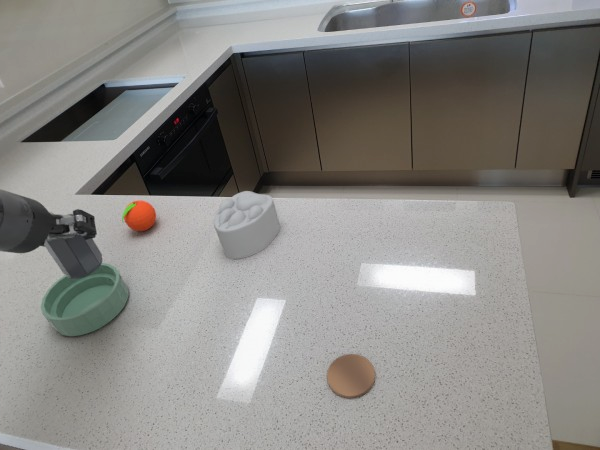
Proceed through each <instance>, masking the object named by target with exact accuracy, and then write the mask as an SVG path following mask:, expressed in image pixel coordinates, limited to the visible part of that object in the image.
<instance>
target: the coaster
mask: <svg viewBox="0 0 600 450" xmlns="http://www.w3.org/2000/svg"><path fill="white" fill-rule="evenodd" d="M326 373H327V374H326V380H327V384H328V386H329V388H330V389H331V391H332V392H333V393H334V394H336V395H338V396H339V397H340V398H341V397H342V398H346V399H357V398H361V397H363V396H364V395H366V394H367V393H369V391H371V389H372V388H373V386H374V384H375V382H376V381H375V380H376V371H375V368H374V365H373V364H372V362H371V361H370V360H368V359H367V358H366V357H365V356H362V355H361V354H356V353H355V354H353V353H351V354H350V353H349V354H344V355H341V356H339V357H337V358H336V359H334V360H333V361H332V362H331V364H330V365H329V367H328V369H327V372H326Z"/></svg>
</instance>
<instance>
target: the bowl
mask: <svg viewBox="0 0 600 450" xmlns="http://www.w3.org/2000/svg"><path fill="white" fill-rule="evenodd" d="M128 299H129V287H128V285H127V284H126V282H125V280H124V279H123V277H122V275H121V274H120V272H119V270H118V269H117V266H114V265H112V264H110V263H106V262H102V264H101V265H100V267H99V268H98V269H97V270H96V271H94V272H93V273H92V274H90V275H88V276H86V277H83V278H80V279H70V278H68V277H67V276H66V275H65V274H63V276H62V277H60V278H59V279H57V280H56V281H55V282H54V283H53V284H51V286H50V287H49V288H48V289H47V290H46V292H45V294H44V295H43V297H42V299H41V304H40V309H41V313H42V315H43V316H44V317H45V319H46V320H47V322H48V323H49V324H50V325H51V326H52V328H53V329H54V330H55V331H56V332H57V333H59V334H60V335H61V336H65V337H79V336H84V335H86V334H89V333H93V332H95V331H97V330H98V329H101V328H102V327H104V326H106V325H107V324H109V323H110V322H111V321H112V320H113V319H115V318H116V317H117V316H118V315H119V314H120V313H121V312H122V310H123V309H124V308H125V306H126V304H127V302H128Z"/></svg>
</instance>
